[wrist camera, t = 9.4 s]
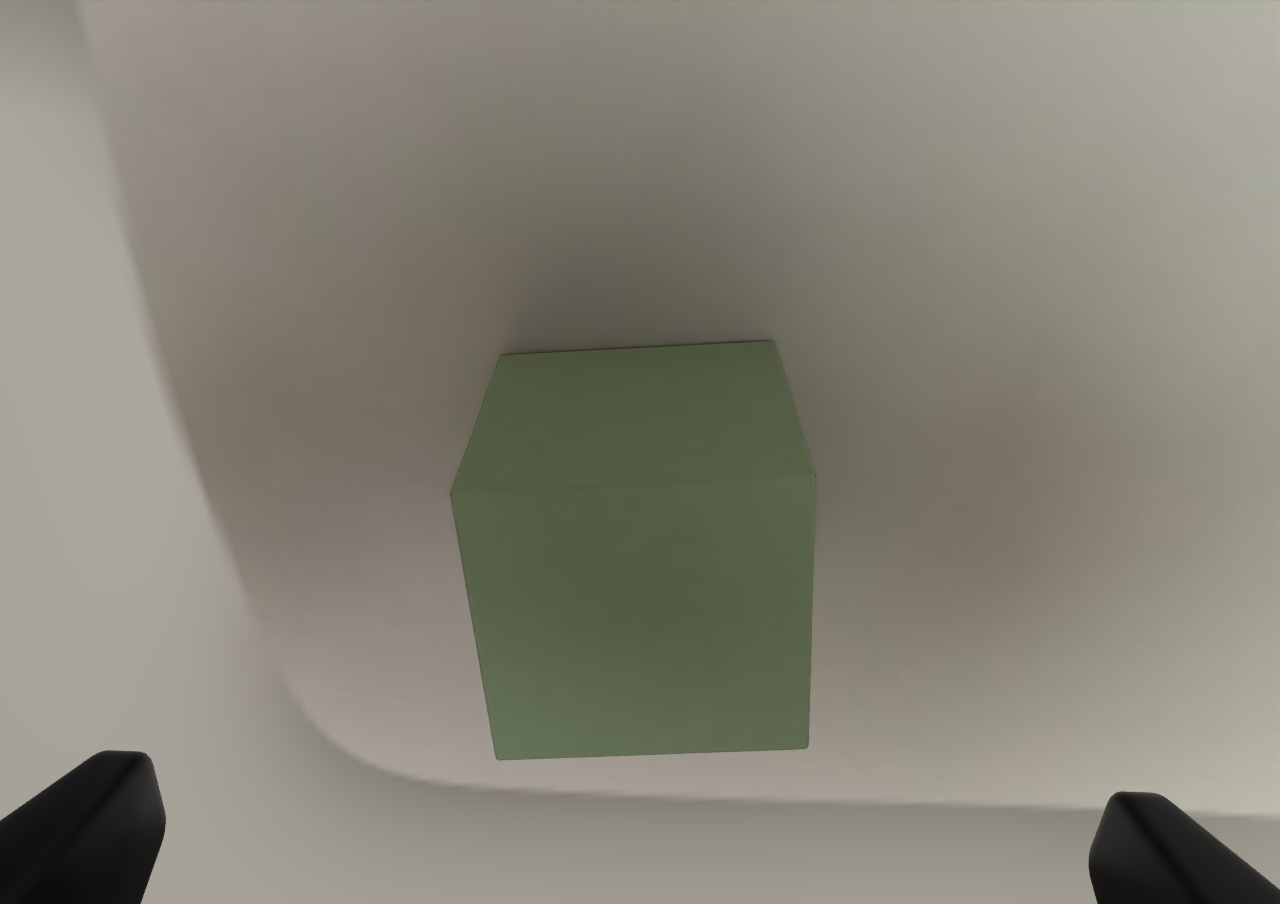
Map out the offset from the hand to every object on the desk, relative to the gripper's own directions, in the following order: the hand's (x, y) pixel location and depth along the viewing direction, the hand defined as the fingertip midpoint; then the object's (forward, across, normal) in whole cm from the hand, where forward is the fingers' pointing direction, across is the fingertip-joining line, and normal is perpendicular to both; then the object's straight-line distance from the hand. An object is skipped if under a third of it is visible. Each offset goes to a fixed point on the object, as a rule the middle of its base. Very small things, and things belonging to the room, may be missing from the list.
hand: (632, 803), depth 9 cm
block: (+7, 0, 0) cm, 7 cm away
